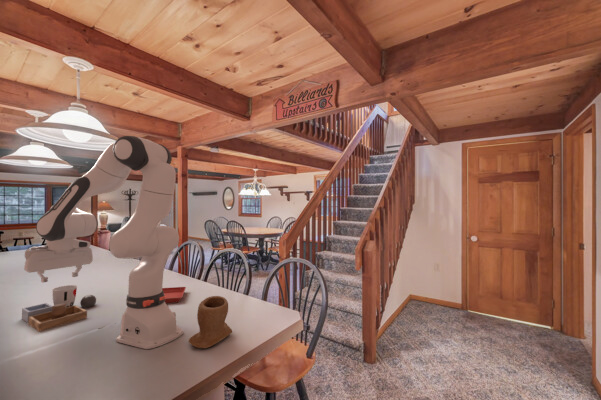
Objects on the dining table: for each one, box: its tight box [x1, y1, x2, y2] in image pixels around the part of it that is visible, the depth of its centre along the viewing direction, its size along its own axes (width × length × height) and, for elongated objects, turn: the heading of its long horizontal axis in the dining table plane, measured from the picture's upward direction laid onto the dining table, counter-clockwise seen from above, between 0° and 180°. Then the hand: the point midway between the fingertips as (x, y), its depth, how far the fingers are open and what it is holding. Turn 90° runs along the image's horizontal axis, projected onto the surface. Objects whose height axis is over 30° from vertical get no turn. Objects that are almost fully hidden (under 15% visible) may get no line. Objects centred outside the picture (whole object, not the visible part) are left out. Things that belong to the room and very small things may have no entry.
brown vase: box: [188, 295, 233, 349], centre depth 93 cm, size 15×12×15 cm
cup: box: [51, 284, 78, 307], centre depth 117 cm, size 8×8×10 cm
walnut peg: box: [51, 304, 66, 320], centre depth 105 cm, size 4×4×6 cm
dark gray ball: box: [79, 294, 97, 309], centre depth 120 cm, size 6×6×6 cm
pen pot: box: [21, 302, 53, 324], centre depth 107 cm, size 7×7×5 cm
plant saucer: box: [162, 286, 187, 304], centre depth 134 cm, size 18×18×3 cm
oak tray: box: [27, 304, 88, 332], centre depth 105 cm, size 11×14×4 cm
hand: (60, 279), depth 105 cm, fingers open, 8 cm apart
